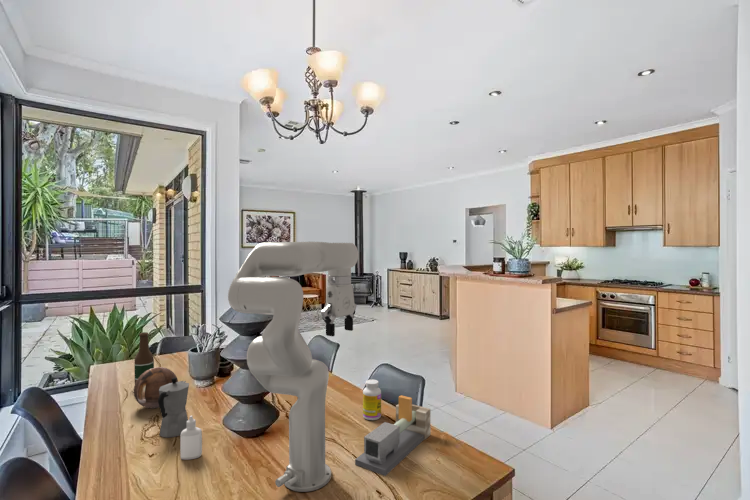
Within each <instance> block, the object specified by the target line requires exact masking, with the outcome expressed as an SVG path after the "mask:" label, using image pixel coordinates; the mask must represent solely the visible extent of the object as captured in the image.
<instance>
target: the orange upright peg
mask: <svg viewBox="0 0 750 500" xmlns="http://www.w3.org/2000/svg"><path fill="white" fill-rule="evenodd" d="M398 404H399V419H400V420H399V421H398V422H396V421H395V423H394V424H393V425H397V426H400V433H401V432H403V431H404V430H405V429H406V428H408V427H409V426H410V425H411V424H412V423H414V422H415V421H416V411H412V404H413V398H412V397H410V396H405V395H399V396H398Z"/></svg>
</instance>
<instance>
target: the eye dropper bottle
mask: <svg viewBox="0 0 750 500" xmlns="http://www.w3.org/2000/svg"><path fill="white" fill-rule="evenodd" d="M196 422H197V421H196V419H195V418H194V417H193V415H189V418H188V421H187V428H186V429H184V430H183V431H182V432H181V435H180V437H179V439H180V440H179V441H180V447H179V449H180V451H179V452H180V455H179V457H180V460H185V461H186V460H188V461H189V460H193V459H198V458H200V457H201V456H202V455H203V433H202V432H203V430H202V428H200V427H197V426H196V425H197V424H196Z"/></svg>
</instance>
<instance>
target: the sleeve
mask: <svg viewBox="0 0 750 500" xmlns="http://www.w3.org/2000/svg"><path fill="white" fill-rule="evenodd" d="M399 444H400V426H397V425H394V424H393V423H389V422H386V421H384V422H383V423H381V424H380V425H379V426H378V427H376V428H375V429H373V430H372V431H370V432H369V433H367V434H366V435H365V436H364V437H363V453H364V455H365V456H366V459H367V460H370V461H373V462H375V463H378V464H383V463H384V462H385V461H386V455H387V454H388V453H389V452H392V453H395V452H396V451H397V450H398V445H399Z"/></svg>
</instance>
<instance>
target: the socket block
mask: <svg viewBox="0 0 750 500" xmlns="http://www.w3.org/2000/svg"><path fill="white" fill-rule="evenodd" d="M412 411H416V421H415V422H414V423H412V424H411V425H410V426H409V427H408V428H406V430H410V431H413V432H416V433H420V434H423V435H424V440H427V438H428V437H430V436H431V434H432V433H431V432H432V431H431V426H432V425H431V408H428V407H424V406H421V405H418V404H417V405H416V404H413V403H412ZM399 420H400V419H399V403H398V404H396V405H395V423H396V422H398V421H399ZM424 440H423V441H424Z"/></svg>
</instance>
